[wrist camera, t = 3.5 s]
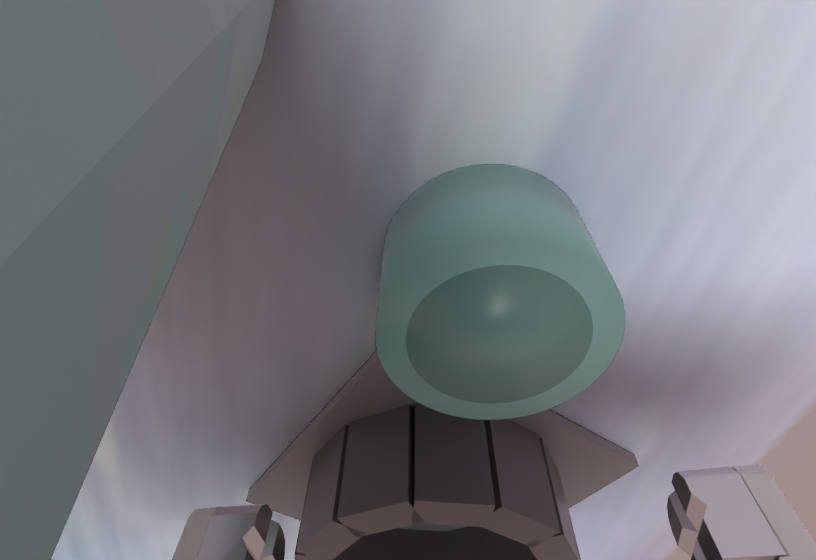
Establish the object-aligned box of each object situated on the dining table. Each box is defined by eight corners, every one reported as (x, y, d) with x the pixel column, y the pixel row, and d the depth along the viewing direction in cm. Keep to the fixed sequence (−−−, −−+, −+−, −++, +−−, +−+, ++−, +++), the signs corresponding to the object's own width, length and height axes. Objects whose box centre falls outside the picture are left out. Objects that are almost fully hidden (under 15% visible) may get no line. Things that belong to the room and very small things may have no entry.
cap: (466, 119, 12) (481, 185, 9) (627, 235, 14) (680, 319, 11) (346, 274, 15) (330, 362, 12) (493, 355, 17) (509, 447, 14)
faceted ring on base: (395, 329, 16) (390, 436, 13) (634, 454, 20) (676, 562, 16) (249, 489, 21) (219, 593, 18) (456, 564, 25) (462, 662, 22)
